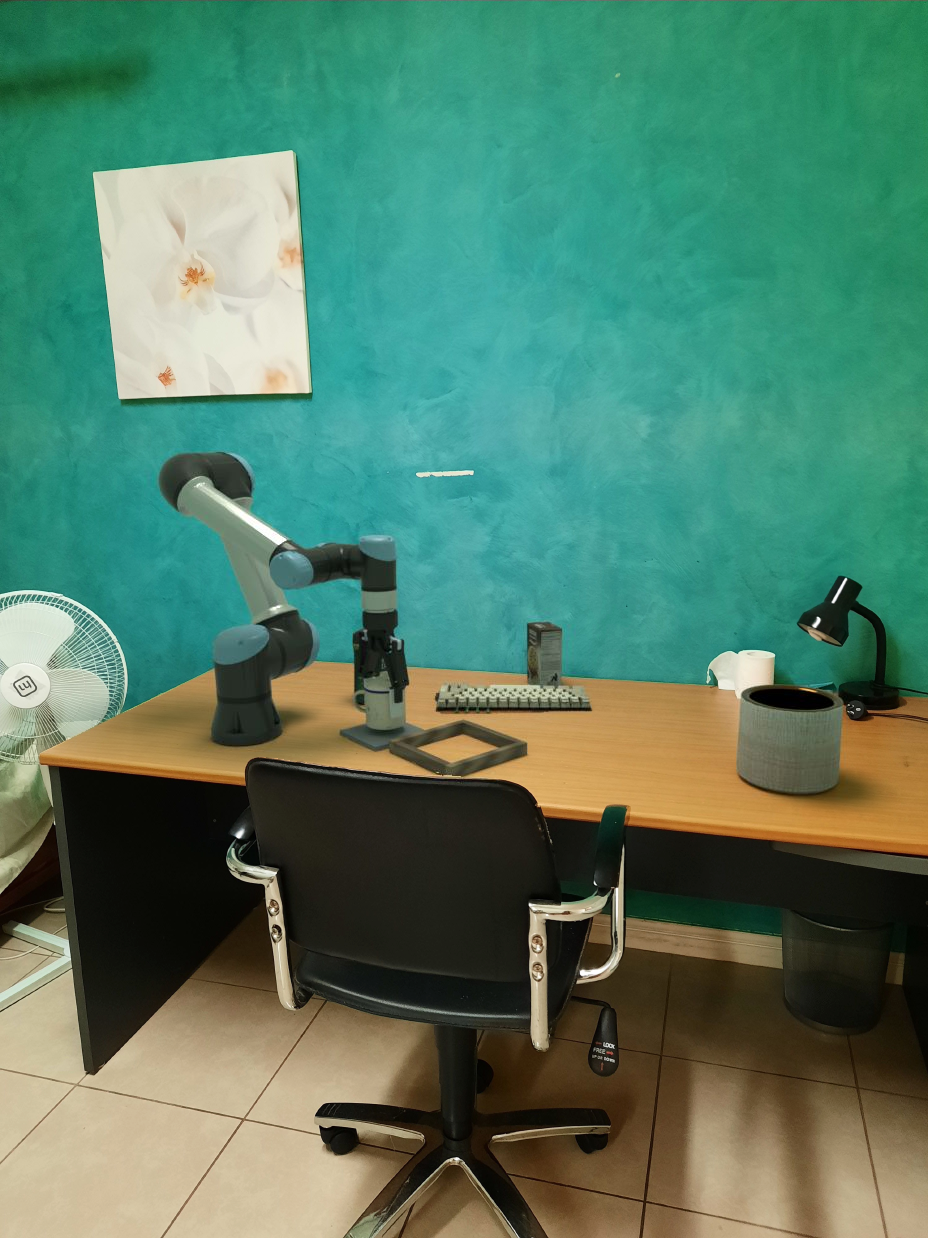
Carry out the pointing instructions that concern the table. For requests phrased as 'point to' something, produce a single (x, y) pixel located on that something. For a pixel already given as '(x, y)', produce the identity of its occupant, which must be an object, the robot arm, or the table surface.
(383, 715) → the teacup with lid
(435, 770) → the frame
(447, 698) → the mechanical keyboard
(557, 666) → the coffee box
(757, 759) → the planter
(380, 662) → the coffee jar
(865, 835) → the table surface
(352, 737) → the mat
